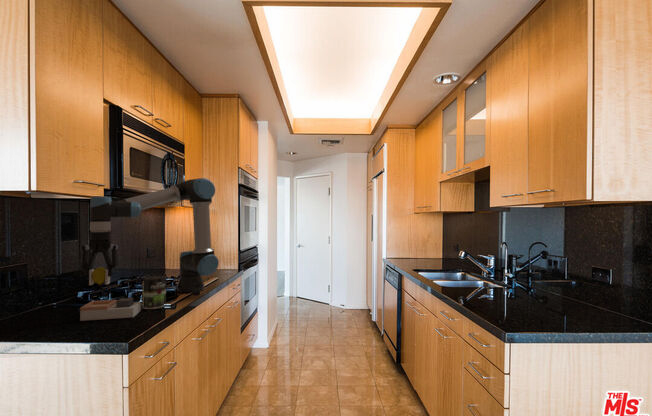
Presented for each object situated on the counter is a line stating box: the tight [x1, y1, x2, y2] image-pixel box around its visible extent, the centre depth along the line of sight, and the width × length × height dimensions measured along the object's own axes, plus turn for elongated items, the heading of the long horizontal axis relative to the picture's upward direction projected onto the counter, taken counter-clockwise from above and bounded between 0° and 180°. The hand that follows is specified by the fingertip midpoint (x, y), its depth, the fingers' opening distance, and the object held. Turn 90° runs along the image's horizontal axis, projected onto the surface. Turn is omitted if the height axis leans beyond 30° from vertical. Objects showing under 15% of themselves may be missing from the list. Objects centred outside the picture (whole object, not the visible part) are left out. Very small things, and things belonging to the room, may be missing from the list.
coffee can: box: [141, 274, 167, 310], centre depth 154 cm, size 10×10×14 cm
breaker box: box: [79, 299, 142, 322], centre depth 140 cm, size 20×10×6 cm, turn 103°
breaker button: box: [116, 297, 134, 308], centre depth 141 cm, size 5×5×6 cm
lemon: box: [92, 266, 107, 286], centre depth 140 cm, size 6×6×8 cm
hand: (99, 284), depth 139 cm, fingers closed on lemon, 5 cm apart
